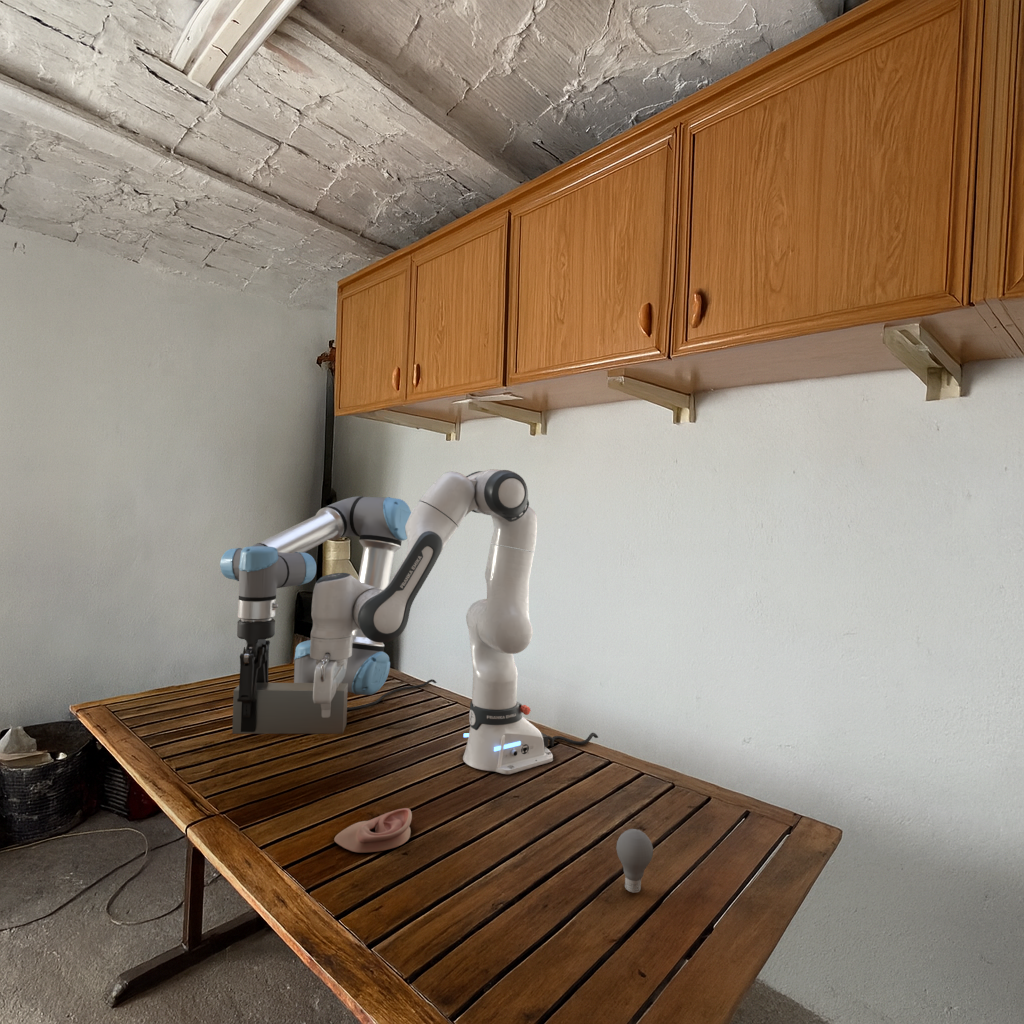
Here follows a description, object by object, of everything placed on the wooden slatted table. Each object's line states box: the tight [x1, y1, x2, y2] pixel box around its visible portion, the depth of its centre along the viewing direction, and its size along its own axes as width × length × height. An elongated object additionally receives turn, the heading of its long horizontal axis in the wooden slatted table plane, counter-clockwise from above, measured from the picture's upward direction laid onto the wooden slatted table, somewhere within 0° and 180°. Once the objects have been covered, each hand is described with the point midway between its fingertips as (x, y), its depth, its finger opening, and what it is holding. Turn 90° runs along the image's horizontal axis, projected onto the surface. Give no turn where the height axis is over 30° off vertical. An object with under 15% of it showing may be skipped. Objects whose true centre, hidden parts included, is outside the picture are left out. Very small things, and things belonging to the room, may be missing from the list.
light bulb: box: [615, 828, 654, 894], centre depth 106 cm, size 6×6×10 cm
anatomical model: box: [333, 807, 413, 854], centre depth 119 cm, size 13×4×12 cm
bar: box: [231, 682, 349, 735], centre depth 137 cm, size 23×5×9 cm, turn 96°
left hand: (252, 725), depth 136 cm, fingers open, 6 cm apart
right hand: (329, 711), depth 138 cm, fingers closed on bar, 5 cm apart
